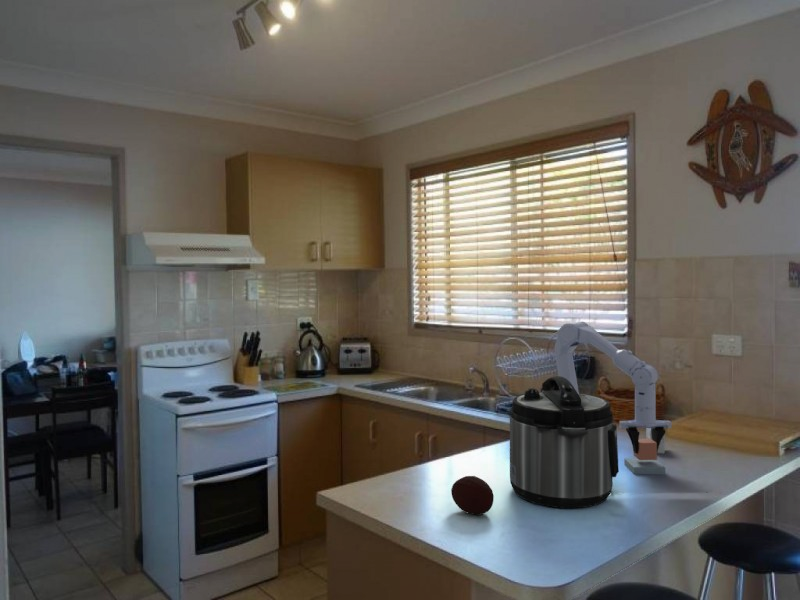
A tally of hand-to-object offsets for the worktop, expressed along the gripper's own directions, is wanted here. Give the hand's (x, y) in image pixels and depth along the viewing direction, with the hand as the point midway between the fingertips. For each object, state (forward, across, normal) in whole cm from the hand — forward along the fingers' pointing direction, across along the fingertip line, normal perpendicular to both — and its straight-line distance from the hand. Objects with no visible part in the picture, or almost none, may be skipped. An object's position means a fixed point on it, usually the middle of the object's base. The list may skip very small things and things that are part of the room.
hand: (645, 452), depth 187 cm
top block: (+5, 0, 0) cm, 5 cm away
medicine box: (+7, +11, +21) cm, 25 cm away
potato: (+7, -54, -30) cm, 62 cm away
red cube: (+2, 0, 0) cm, 2 cm away
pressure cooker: (+7, -28, -16) cm, 33 cm away
